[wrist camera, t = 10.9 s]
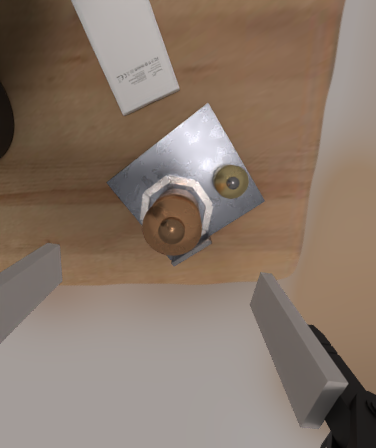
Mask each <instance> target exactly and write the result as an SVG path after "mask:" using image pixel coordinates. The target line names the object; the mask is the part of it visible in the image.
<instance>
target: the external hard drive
mask: <svg viewBox="0 0 376 448" xmlns="http://www.w3.org/2000/svg"><path fill="white" fill-rule="evenodd" d="M71 1H72V3H73V5H74V8H75V10H76V12H77V14H78V17H79V19H80V21H81V23H82V25H83V28H84V30H85V32H86V34H87V37H88V39H89V41H90V43H91V45H92V48H93V50H94V52H95V54H96V56H97V59H98V61H99V63H100V65H101V67H102V70H103V72H104V74H105V76H106V78H107V81H108V83H109V85H110V87H111V90H112V92H113V94H114V96H115V98H116V101H117V103H118V105H119V107H120V109H121V112H122V114H123V115H124V116H126V115H128V114H130V113H132V112H134V111H136V110H138V109H141V108H143V107H145V106H147V105H148V104H150V103H152V102H154V101H158V100H160V99H162V98H164V97H166V96H168V95H171V94H173V93H175V92H177V91H179V90H180V89H179V86H178V83H177V80H176V77H175V74H174V71H173V68H172V65H171V62H170V60H169V57H168V54H167V51H166V48H165V45H164V42H163V39H162V36H161V34H160V31H159V28H158V25H157V22H156V19H155V16H154V13H153V11H152V8H151V5H150V2H149V0H71Z"/></svg>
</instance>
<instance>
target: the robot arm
mask: <svg viewBox="0 0 376 448" xmlns="http://www.w3.org/2000/svg"><path fill="white" fill-rule="evenodd" d="M12 135H13V115H12V110H11V106H10V103H9V100H8V97H7V95H6V93H5V91H4V89H3V87H2V85H1V83H0V158H1V157H2V156H3V155H4V153H5V152H6V151H7V149H8V147H9V145H10V143H11V140H12ZM61 282H62V269H61V255H60V245H59V244H52V243H46V244H45V245H43V246H42V247H40V248H39V249H37V250H35V251H34V252H32V253H31V254H29V255H27V256H26V257H24V258H23V259H21V260H19V261H18V262H16V263H15V264H13V265H12V266H10V267H8V268H7V269H5V270H4V271H2V272H0V343H1V342H2V341H3V340H4V339H5V338H6V337H7V336H8V335H9V334H10V333H11V332H12V331H13V330H14V329H15V328H16V327H17V326H18V325H19V324H20V323H21V322H22V321H23V320H24V319H25V318H26V317H27V316H28V315H29V314H30V313H31V312H32V311H33V310H34V309H35V308H36V307H37V306H38V305H39V304H40V303H41V302H42V301H43V300H44V299H45V298H46V297H47V296H48V295H49V294H50V293H51V292H52V291H53V290H54V289H55V288H56V287H57V286H58V285H59V284H60V283H61ZM250 306H251V309H252V311H253V314H254V316H255V318H256V321H257V323H258V326H259V328H260V331H261V333H262V335H263V338H264V340H265V343H266V345H267V348H268V350H269V352H270V355H271V357H272V360H273V362H274V365H275V367H276V370H277V372H278V374H279V377H280V379H281V382H282V384H283V387H284V389H285V391H286V394H287V396H288V399H289V401H290V403H291V406H292V408H293V411H294V413H295V416H296V418H297V420H298V423H299V425H300V427H302V428H313V429H319V428H320V426H321V425H322V423H323V422H324V420H325V421H326V423H327V425H328V426H329V428H330V430H331V431H330V433H329V434H328V436H327V437H326V439H325V440H324V442H323V443H322V445H321V447H320V448H326V447H327V448H376V395H375V394H373V393H371V392H369V391H366V390H365V389H364V387H363V386H362V385H361V384H360V382H359V381H358V380H357V378H356V377H355V375H354V374H353V373H352V372H351V370H350V369H349V368H348V366H347V365H346V364H345V362H344V361H343V360H342V358H341V357H340V356H339V355H338V354H337V352H336V350H335V349H334V348H333V346H331V344H330V342H329V341H328V340H327V338H326V337H325V336H324V335H323V334H322V333H321V332H320V331H319V330H318V329H317V328H316V327H315V326H314V325H308V324H307V323H306V322H305V320H304V319H303V318H302V316H301V315H300V313H299V312H298V311H297V309H296V308H295V306H294V305H293V303H292V302H291V301H290V299H289V298H288V296H287V295H286V294H285V292H284V291H283V289H282V288H281V287H280V285H279V284H278V282H277V281H276V279H275V278H274V276H273V275H272V274H270V273H263V272H260V276H259V279H258V282H257V285H256V288H255V291H254V294H253V297H252V300H251V303H250Z"/></svg>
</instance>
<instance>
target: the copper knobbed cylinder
mask: <svg viewBox="0 0 376 448" xmlns="http://www.w3.org/2000/svg"><path fill="white" fill-rule="evenodd" d="M142 230H143V234H144V237H145V239H146V241H147V243H148V244H149V245H150V246H151V247H152V248H153V249H154V250H156V251H157V252H159V253H161V254H165V255H170V256H177V255H182V254H185V253H187V252H189V251H190V250H192V249H193V248H194V247H195V246H196V245H197V243H198V242H199V240H200V237H201V234H202V223H201V217H200V211H199V205H198V202H197V200H196V199H195V197H194V196H193V195H192V194H191V193H189V192H188V191H186V190H183V189H177V188H176V189H170V190H167V191H165V192H164V193H162V194H161V195H160V196H159V197H158V199H157V200H156V201H155V202H154V204H153V205H152V206H151V207H150V209H149V210H148V211H147V213H146V214H145V216H144V219H143V224H142Z"/></svg>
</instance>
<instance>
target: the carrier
mask: <svg viewBox="0 0 376 448" xmlns="http://www.w3.org/2000/svg"><path fill="white" fill-rule="evenodd" d="M107 184H108V185H109V186H110V187H111V189H112V190H113V191H114V192H115V193H116V195H117V196H118V197H119V198H120V200H121V201H122V202H123V203H124V204H125V206H126V207H127V208H128V209H129V210H130V212H131V213H132V214H133V215H134V216H135V218H136V219H137V220H138V221H139V223H140V224H141V225H142V224H143V219H144V216H145V214H146V213H147V211H148V210H149V209H150V207H151V206H152V205H153V204H154V202H155V201H156V200H157V199H158V197H159V196H160V195H161V194H162V193H164V192H165V191H167V190H170V189H176V188H177V189H183V190H186V191H188V192H189V193H191V194H192V195H193V196H194V197H195V199H196V200H197V202H198V205H199V211H200V217H201V223H202V234H201V237H200V240H199V242H198V243H197V245H196V246H195V247H194V248H193V249H192V250H190V251H189V252H187V253H185V254H182V255H177V256H170V255H167V256H168V258H169V259H170V260H172V262H171V264H172V265H173V266H176V265H177V264H179V263H181V262H182V261H184V260H186V259H187V258H189V257H190V256H192V255H194V254H195V253H197V252H199V251H200V250H202V249H203V248H205V247H207V246H208V245H210V244H211V243H212V242H211V238H210V235H212V234H213V233H215V232H217V231H218V230H220V229H221V228H223V227H225V226H226V225H228V224H229V223H231V222H233V221H234V220H236V219H237V218H239V217H240V216H242V215H244V214H245V213H247V212H248V211H250V210H252V209H253V208H255V207H256V206H258V205H260V204H261V203H263V202H264V199H263V197H262V195H261V194H260V192H259V190H258V188H257V187H256V185H255V183H254V182H253V180H252V178H251V176H250V175H249V173H248V171H247V169H246V168H245V166H244V164H243V163H242V161H241V159H240V157H239V156H238V154H237V152H236V150H235V149H234V147H233V145H232V143H231V142H230V140H229V138H228V137H227V135H226V133H225V131H224V130H223V128H222V126H221V124H220V123H219V121H218V119H217V118H216V116H215V114H214V112H213V111H212V109H211V107H210V105H209V104H208V103H207V104H206V105H205V106H203V107H202V108H201V109H200V110H198V111H197V112H196V113H195V114H193V115H192V116H191V117H189V118H188V119H187V120H186V121H184V122H183V123H182V124H181V125H179V126H178V127H177V128H175V129H174V130H173V131H172V132H170V133H169V134H168V135H167V136H165V137H164V138H163V139H161V140H160V141H159V142H158V143H156V144H155V145H154V146H153V147H151V148H150V149H149V150H147V151H146V152H145V153H144V154H142V155H141V156H140V157H139V158H137V159H136V160H135V161H133V162H132V163H131V164H130V165H128V166H127V167H126V168H125V169H123V170H122V171H121V172H119V173H118V174H117V175H116V176H114V177H113V178H112V179H111V180H109V181H108V182H107Z"/></svg>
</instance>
